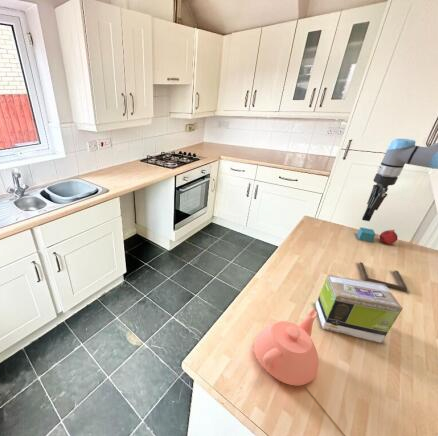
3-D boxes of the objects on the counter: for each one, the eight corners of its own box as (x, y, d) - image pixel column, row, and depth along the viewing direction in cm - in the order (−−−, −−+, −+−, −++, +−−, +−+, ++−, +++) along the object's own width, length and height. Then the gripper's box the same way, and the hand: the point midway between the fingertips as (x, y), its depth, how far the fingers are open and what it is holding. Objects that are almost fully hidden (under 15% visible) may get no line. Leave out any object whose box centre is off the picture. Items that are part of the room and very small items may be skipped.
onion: (381, 246, 112) (389, 231, 109) (374, 239, 117) (381, 225, 114) (396, 248, 111) (404, 233, 107) (388, 241, 116) (396, 226, 112)
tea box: (366, 317, 79) (387, 283, 72) (380, 344, 70) (405, 309, 63) (313, 305, 83) (328, 272, 76) (321, 330, 75) (338, 295, 68)
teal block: (356, 235, 121) (360, 227, 118) (368, 238, 119) (373, 229, 116) (358, 240, 117) (362, 232, 115) (371, 243, 115) (375, 234, 112)
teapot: (280, 321, 78) (290, 293, 72) (332, 359, 67) (348, 330, 61) (235, 358, 68) (242, 329, 62) (287, 410, 57) (302, 381, 51)
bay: (357, 265, 101) (359, 262, 100) (395, 274, 96) (398, 271, 95) (363, 282, 93) (365, 278, 92) (405, 293, 87) (407, 289, 86)
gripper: (373, 169, 116) (354, 213, 127) (380, 177, 106) (358, 224, 117) (393, 171, 113) (372, 216, 124) (403, 180, 103) (378, 227, 114)
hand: (365, 220), depth 121 cm, fingers closed
